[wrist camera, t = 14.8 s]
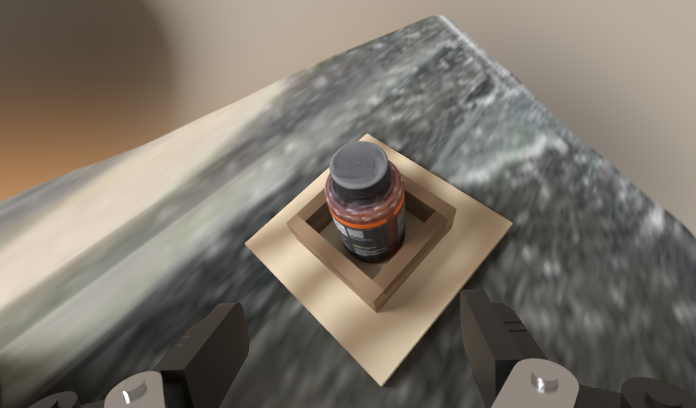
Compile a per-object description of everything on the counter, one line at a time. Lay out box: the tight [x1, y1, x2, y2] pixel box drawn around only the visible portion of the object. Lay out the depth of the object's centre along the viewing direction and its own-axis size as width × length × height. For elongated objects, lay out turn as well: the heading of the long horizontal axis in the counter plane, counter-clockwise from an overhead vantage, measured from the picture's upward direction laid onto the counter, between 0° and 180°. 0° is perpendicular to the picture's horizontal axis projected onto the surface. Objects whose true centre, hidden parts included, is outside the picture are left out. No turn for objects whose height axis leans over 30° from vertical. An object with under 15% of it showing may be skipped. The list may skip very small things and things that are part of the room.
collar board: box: [245, 134, 513, 387], centre depth 31 cm, size 18×18×5 cm
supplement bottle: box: [325, 141, 405, 263], centre depth 27 cm, size 6×6×11 cm
